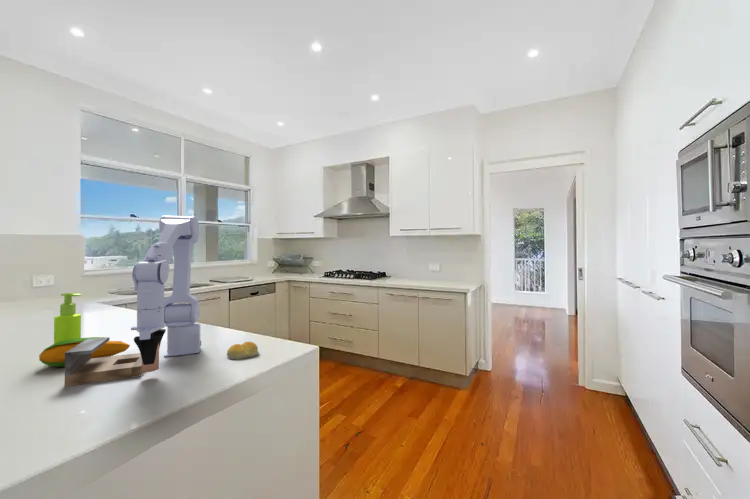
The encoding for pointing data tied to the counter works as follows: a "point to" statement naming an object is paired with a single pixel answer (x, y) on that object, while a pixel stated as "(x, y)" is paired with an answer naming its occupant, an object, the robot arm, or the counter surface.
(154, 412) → the counter surface
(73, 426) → the counter surface
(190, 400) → the counter surface
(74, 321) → the soap dispenser
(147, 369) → the peg
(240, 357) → the bread roll
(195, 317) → the robot arm
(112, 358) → the socket station
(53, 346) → the corn
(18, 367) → the counter surface
